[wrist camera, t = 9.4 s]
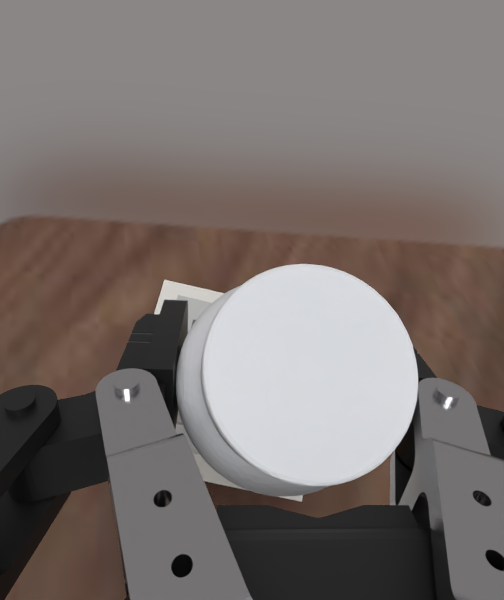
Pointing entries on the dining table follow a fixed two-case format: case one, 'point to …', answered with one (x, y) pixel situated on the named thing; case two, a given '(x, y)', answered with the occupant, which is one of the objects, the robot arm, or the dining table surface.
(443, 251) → the dining table surface
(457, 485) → the robot arm
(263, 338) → the supplement bottle
